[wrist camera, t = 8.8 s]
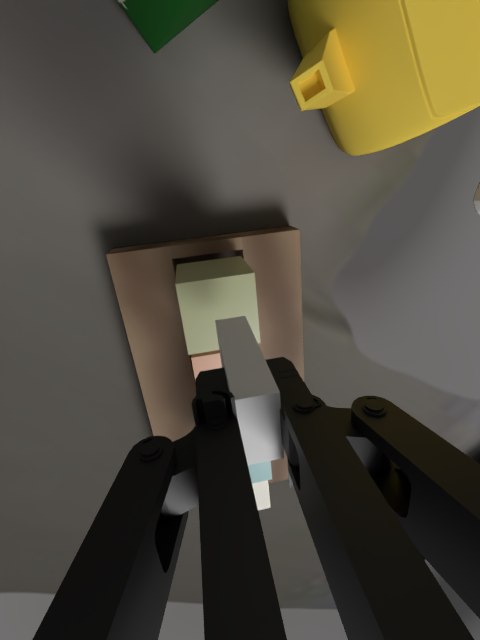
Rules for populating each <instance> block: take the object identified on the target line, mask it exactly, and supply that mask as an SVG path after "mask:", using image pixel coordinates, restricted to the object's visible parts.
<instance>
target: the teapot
mask: <svg viewBox="0 0 480 640" xmlns="http://www.w3.org/2000/svg"><path fill="white" fill-rule="evenodd" d="M288 11H289V16H290V20H291V24H292V27H293V30H294V34H295V37H296V40H297V43H298V46H299V49H300V52H301V55H302V58H303V60H302V61H301V63H300V65H299V67H298V68H297V70H296V72H295V73H294V75H293V77H292V79H291V80H290V82H289V84H290V86H291V89H292V91H293V94H294V96H295V98H296V101H297V103H298V106H299V108H300V110H301V111H304V110H313V109H322V112H323V114H324V117H325V119H326V122H327V124H328V127H329V129H330V131H331V134H332V136H333V138H334V140H335V142H336V144H337V146H338V147H339V149H340V150H342V151H343V152H345V153H347V154H349V155H357V156H359V155H364V154H368V153H373V152H376V151H380V150H383V149H386V148H389V147H392V146H394V145H397V144H400V143H402V142H405V141H407V140H409V139H412V138H414V137H417V136H419V135H421V134H423V133H426V132H428V131H430V130H432V129H434V128H436V127H438V126H441V125H443V124H445V123H447V122H449V121H451V120H453V119H455V118H457V117H459V116H461V115H463V114H465V113H467V112H469V111H471V110H473V109H475V108H476V107H478V106H480V0H288Z"/></svg>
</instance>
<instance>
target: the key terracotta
mask: <svg viewBox="0 0 480 640" xmlns="http://www.w3.org/2000/svg"><path fill="white" fill-rule="evenodd" d="M191 360H192V365H193V371H194V376H195V382H196V377H197V376H198V374H199V373H200V371H206V370H212V369H218V368H222V365H221V358H220V351H219V350H215V351H209V352H203V353H197V354H191Z"/></svg>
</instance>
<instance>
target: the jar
mask: <svg viewBox="0 0 480 640" xmlns="http://www.w3.org/2000/svg"><path fill="white" fill-rule="evenodd" d="M473 202H474V206H475V209H476V212H478V214H479V215H480V183H479V185H478V188H477V190H476V193H475V196H474V199H473Z"/></svg>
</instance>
